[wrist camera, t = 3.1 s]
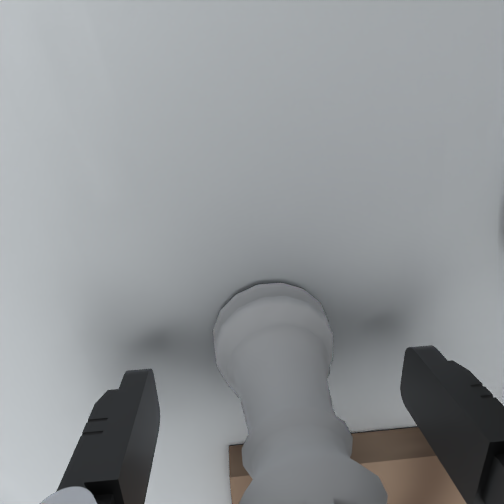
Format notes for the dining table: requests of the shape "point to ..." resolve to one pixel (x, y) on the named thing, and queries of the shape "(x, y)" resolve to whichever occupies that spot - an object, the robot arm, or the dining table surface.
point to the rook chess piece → (288, 400)
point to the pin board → (383, 467)
